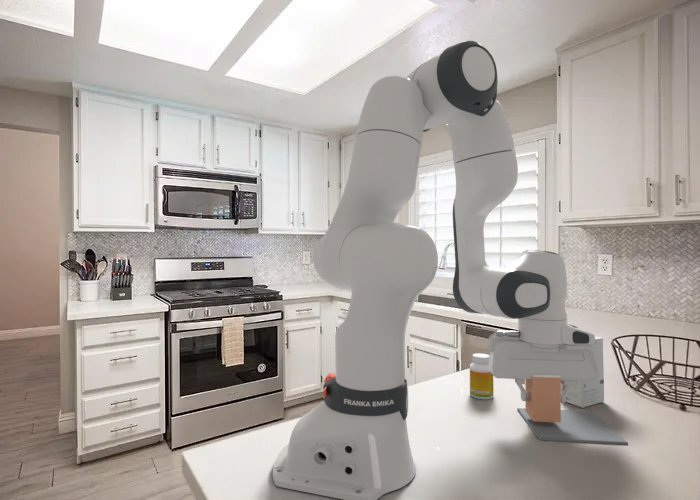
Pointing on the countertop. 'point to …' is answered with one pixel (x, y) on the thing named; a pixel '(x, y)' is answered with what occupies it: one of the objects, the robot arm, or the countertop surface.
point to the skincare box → (588, 385)
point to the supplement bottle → (481, 377)
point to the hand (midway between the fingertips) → (542, 401)
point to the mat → (574, 428)
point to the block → (544, 397)
